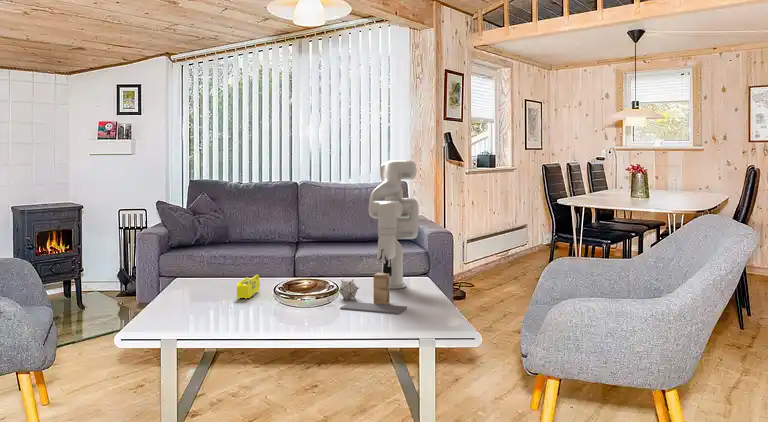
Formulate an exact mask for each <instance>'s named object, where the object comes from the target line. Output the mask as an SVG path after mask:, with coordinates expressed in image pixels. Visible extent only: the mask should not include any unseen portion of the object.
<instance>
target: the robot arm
mask: <svg viewBox="0 0 768 422" xmlns="http://www.w3.org/2000/svg"><path fill="white" fill-rule="evenodd" d="M417 169H418V167H417V165H416V163H415V161H413V160H409V159H408V160H407V159H393V160H388V161H386V162H383V163H381V165H380V166H379V173H380V174H379V176H380V181H381V184H379V185H377V186H376V188H374V190H372V192H371V194H370V195H369V202H368V215H369V216H370V218H373V219H377V226H378V227H377V230H378V231H377V234H378V235H377V236H378V240H377V254H376V256H377V257H376V258H377V259H378V260H379V261H380V260H381V265H382V266H381V273H387V274H389V289H391V290H392V289H393V290H396V289H397V290H398V289H404V288H406V287H407V283H406V282H404V281H403V280H404V279H403V278H404V276H403V275H404V273H403V272H404V271H403V269H404V268H403V267H404V266H403V265H404V260H403V259H404V255H403V253H404V249H403V246H402V245H401V243H400V242H399V241H398V240H414V239H416V238H417V237H418V235H419V213H420V212H419V203H418V200H416V199H415V198H413V197H404V190H403V188H402V186H401V185H402V184H401V181H402V180H414V179H415V178H416V177H417V172H418V170H417ZM383 199H384V200H383Z"/></svg>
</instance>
